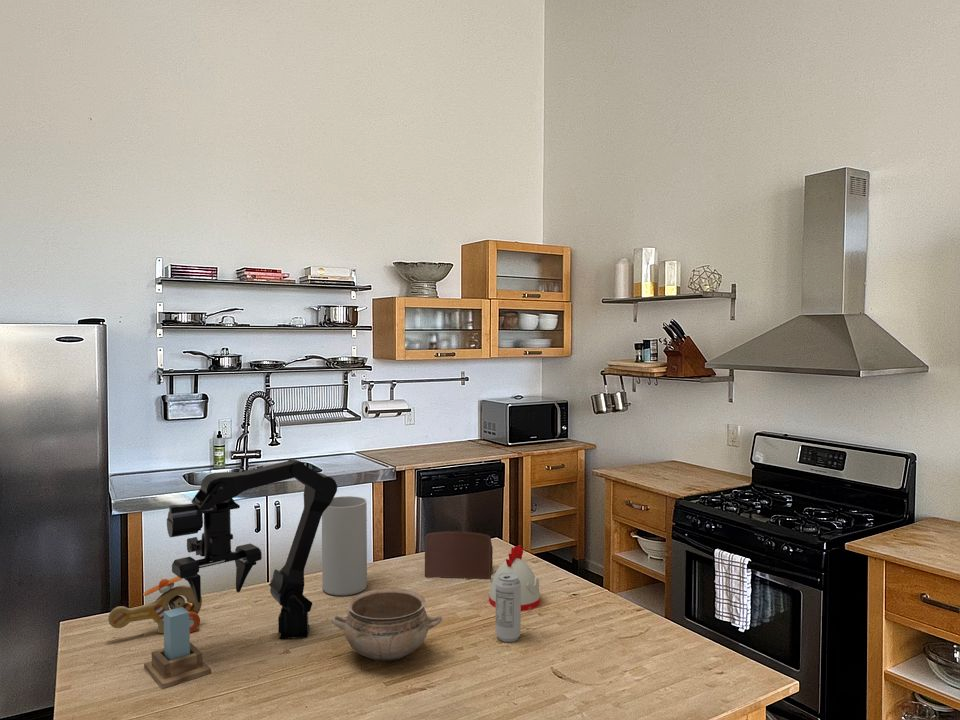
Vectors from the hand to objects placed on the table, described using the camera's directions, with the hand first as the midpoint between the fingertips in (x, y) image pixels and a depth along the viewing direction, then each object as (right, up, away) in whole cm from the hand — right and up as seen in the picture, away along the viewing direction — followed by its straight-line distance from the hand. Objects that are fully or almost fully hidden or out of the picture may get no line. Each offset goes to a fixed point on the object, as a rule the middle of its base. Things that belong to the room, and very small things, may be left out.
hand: (218, 596), depth 163 cm
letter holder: (+53, -11, +53) cm, 76 cm away
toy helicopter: (-18, -13, +11) cm, 25 cm away
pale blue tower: (-6, -12, -8) cm, 16 cm away
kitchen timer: (+69, -12, +31) cm, 77 cm away
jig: (-6, -13, -8) cm, 17 cm away
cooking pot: (+39, -13, -1) cm, 41 cm away
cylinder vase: (+21, -11, +40) cm, 47 cm away
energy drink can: (+67, -13, +9) cm, 68 cm away
